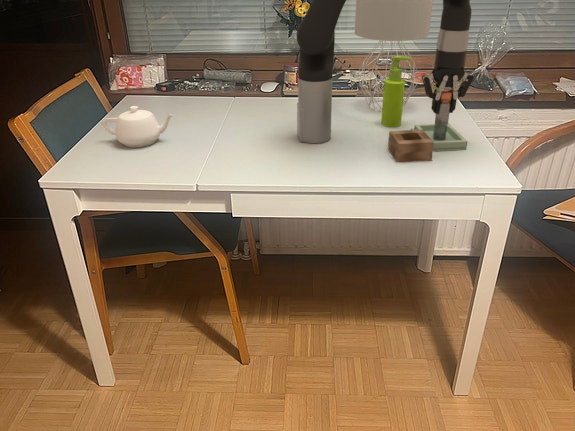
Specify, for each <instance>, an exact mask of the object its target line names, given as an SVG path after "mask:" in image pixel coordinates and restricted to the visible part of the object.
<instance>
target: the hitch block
mask: <svg viewBox="0 0 575 431" xmlns="http://www.w3.org/2000/svg"><path fill="white" fill-rule="evenodd" d="M433 145H434V142H433V141H432V140H431V138H430V137H429V136H428V135H427V134H426V133H425V132H424V131H423V130H414V129H409V130H408V129H406V130H405V129H404V130H389V133H388V144H387V150H388V151H389V152H390V154H391V155H392V158H394V160H395V161H396V162H397V163H405V162H406V163H411V162H427V161H433V160H432V158H433V153H434V152H433Z"/></svg>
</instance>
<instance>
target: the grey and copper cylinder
mask: <svg viewBox="0 0 575 431" xmlns="http://www.w3.org/2000/svg"><path fill="white" fill-rule="evenodd" d="M451 99H452V90H450V89H446V88H444V90H443V92H442V93H441V96H440V99H439V100H440V104H439V111H438V114H435V118H434V123H433V124H434V132H433V138H435V139H440V140H442V139H445V138H446V133H447V127H448V123H449V119H450V114H451V113H450V106H451Z"/></svg>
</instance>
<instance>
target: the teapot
mask: <svg viewBox="0 0 575 431" xmlns="http://www.w3.org/2000/svg"><path fill="white" fill-rule="evenodd" d="M129 109H130V110H128V111H124V112H122V113H120V114H119V115H118V116H117V117H108V118H104V119H103V120H102V121H101V126H102V127H103V128H104V130H105V131H107V132H108V133H109V134H111V135H115V138H116V140H117V141H118V142H119V143H121V144H123V145H124V146H126V147H127V148H128V147H129V148H141V147H142V148H143V147H148V146H150V145H152V144H154V143H155V142H156V141H157V140H158V138H159V137H160V135H162V134H163V133H164V132H165V131H166V129H167V128H168V126H169V122H170V119H171V118H172V117H174V114H171V113H169V114H167V115H166V117H165V118H164V122H163V123H162V124H161V125H159V122H158V120H157V118H156V116H155V115H154V114H153V113H152V112H151V111H149V110H147V109H146V110H145V109H139V106H137V105H132V106H130V108H129ZM108 122H109V123H110V122H115V129H113V128H111V127H110V126H109V125H108Z"/></svg>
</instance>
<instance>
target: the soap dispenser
mask: <svg viewBox="0 0 575 431" xmlns="http://www.w3.org/2000/svg"><path fill="white" fill-rule="evenodd" d="M392 60H393V63H392V64H393V65H392V66H390V67H389V72H390V73H389V72H388V73H389V74H388V75H389V76H388V77H389V78H388V77H387V78H388V79H385V78H384V79H385V80H384V82H383V83H384V84H383V88H384V89H383V94H382V105H381V106H382V107H381V108H382V110H381V111H382V112H381V120H380V123H381V125H382V126H384V127H387V128H396V127H399V126H401V125H402V118H403V117H402V115H403V108H404V107H403V106H404V105H403V103H404V102H403V100H404V98H405V93H404V92H405V86H406V83H405V82H406V80H405V79H404V80H403V78H402V72H403V70H402V67H401V66H400V67H399V64H400V61H402V60H403V61H404V60H405V61H406V60H408V61H409V62H410V61H412V60H411V58H410V56H407V55H406V56H405V55H398V56H397V55H392Z"/></svg>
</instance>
